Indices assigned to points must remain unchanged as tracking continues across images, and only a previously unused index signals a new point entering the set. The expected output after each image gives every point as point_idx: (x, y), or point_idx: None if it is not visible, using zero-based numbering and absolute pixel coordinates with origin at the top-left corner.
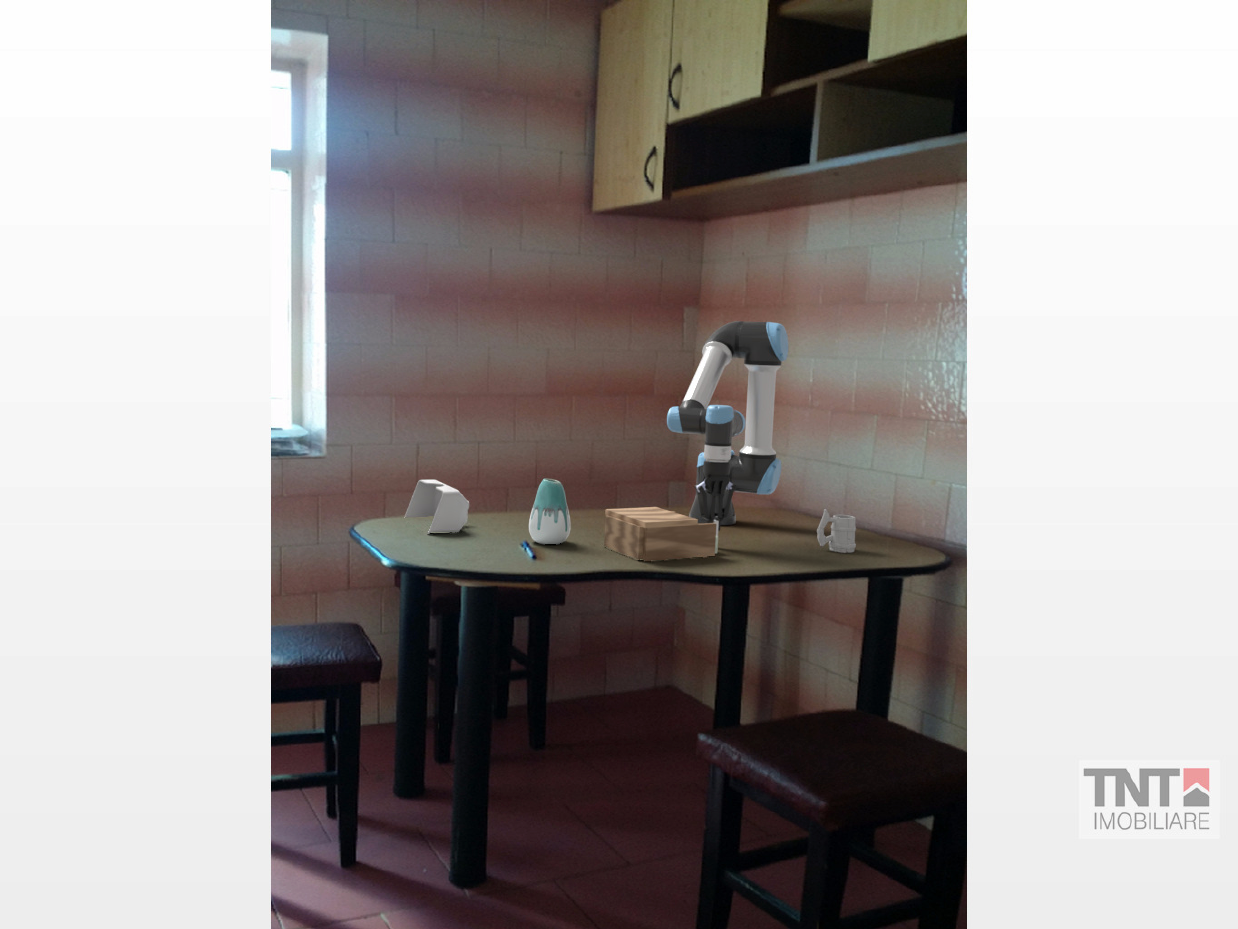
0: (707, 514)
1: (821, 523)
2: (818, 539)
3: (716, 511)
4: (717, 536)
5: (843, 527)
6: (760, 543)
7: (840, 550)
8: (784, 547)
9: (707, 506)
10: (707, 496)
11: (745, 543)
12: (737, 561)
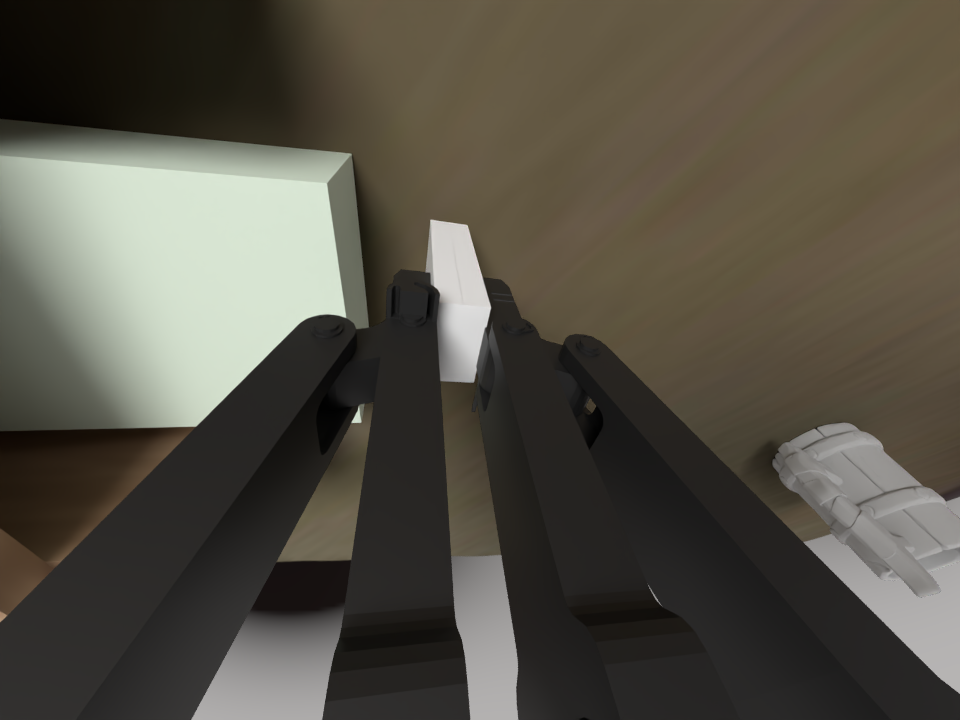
0: (327, 426)
1: (848, 528)
2: (790, 466)
3: (493, 414)
4: (360, 417)
5: (845, 542)
6: (773, 266)
7: (776, 468)
8: (742, 368)
9: (293, 519)
10: (344, 624)
11: (718, 231)
12: (358, 473)
